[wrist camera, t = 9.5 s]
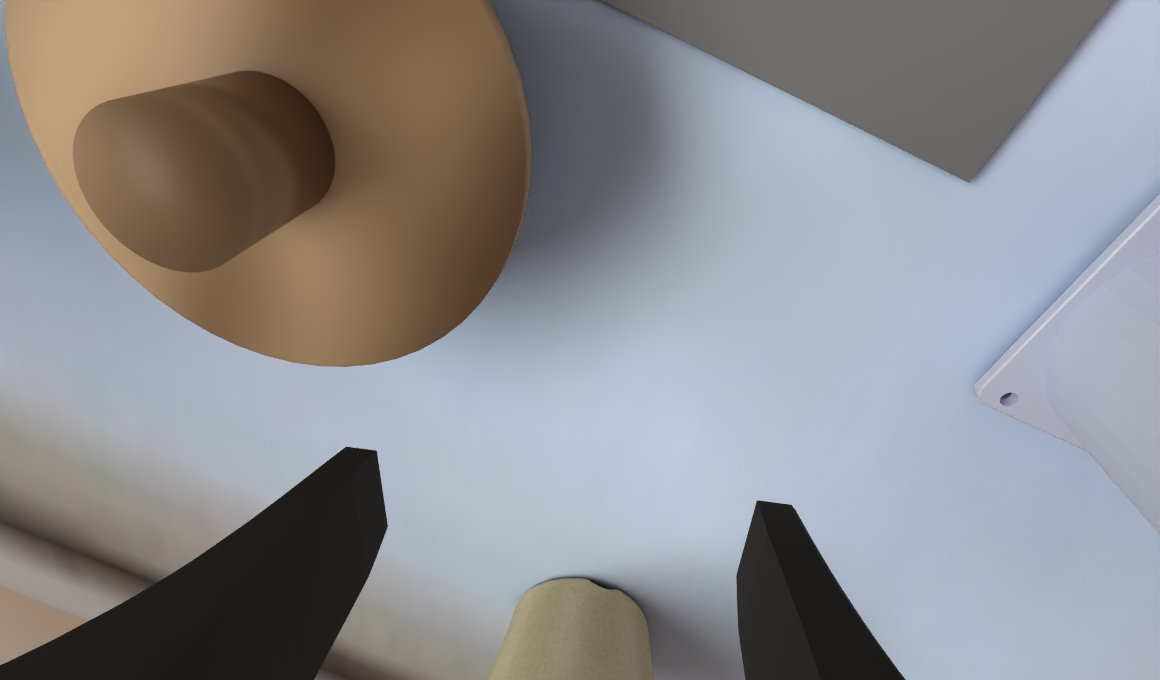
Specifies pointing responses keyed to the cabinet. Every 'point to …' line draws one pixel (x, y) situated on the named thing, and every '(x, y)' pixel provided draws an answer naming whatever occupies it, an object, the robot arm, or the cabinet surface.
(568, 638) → the flower pot
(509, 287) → the cabinet surface
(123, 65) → the lid
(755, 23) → the mat
